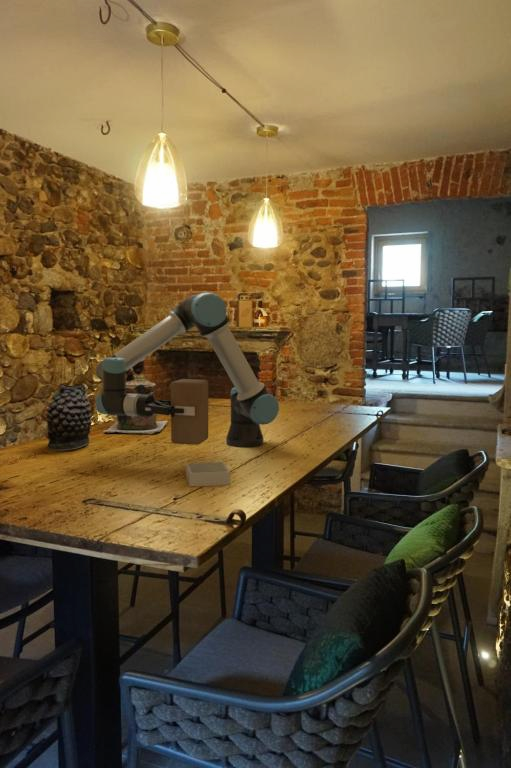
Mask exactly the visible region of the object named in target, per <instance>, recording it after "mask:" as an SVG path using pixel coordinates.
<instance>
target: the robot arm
mask: <svg viewBox="0 0 511 768" xmlns="http://www.w3.org/2000/svg"><path fill="white" fill-rule="evenodd" d="M227 310H228V309H227V305H226V302H225V301H224V299H223V298H222V297H221V296H220V295H218V294H216V293H212V292H207V291H206V292H201V293H197V294H192V295H190V296H188V297H186V298H185V299H184V300H183V301H181V302H180V303H179V304H178V305H176V306H175V307H174V308H173V309H171V310H170V311H168V315H167V316H166V317H165V318H163V319H162V320H161V321H159V322H158V323H156V324H155V325H153V326H152V327H150V328H149V329H148V330H146V331H145V332H144V333H142V334H141V335H139V336H138V337H136V338H135V339H134V340H132V341H131V342H129V343H128V344H126V345H125V346H124V347H123V348H121V349H119V350H118V351H117V352H115V353H114V354H113V355H111V356H110V357H104V358H103V359H102V361H100V362H99V363H97V365H96V368H95V373H96V376H97V378H98V380H100V381H101V382H102V386H103V387H102V388H103V390H102V392H99V394H97V396H96V400H95V408H96V410H97V412H98V413H100V414H103V415H109V416H116V415H124V416H132V418H134V417H135V416H141V417H151V416H152V415H153V414H157V415H161V416H170V418H171V417H174V413H175V415H191V416H194V415H195V407H189V406H175V408H174V406H171V399H170V400H169V399H157V400H156V397H155V398H154V397H153V396H152V395H149V394H131V393H129V394H127V393H126V378H127V375H126V371H127V370H129V369H130V368H132V367H133V366H134V365H136V364H137V363H139V362H140V361H142V360H143V359H146V358H147V357H149V356H151V354H153V353H155V351H157V350H158V349H159V348H162V346H164V345H165V344H167V343H168V342H169V341H171V340H172V339H174V338H175V337H177V336H178V335H179V334H180V333H182V334H183V333H184V334H185V333H186V332H189V330H191V329H193V328H195V327H196V329H197V331H198V332H199V334H200V336H201V337H203V338H207V340H208V341H209V343H210V345H211V347H212V349H213V351H214V352H215V354H216V355H217V357H218V360H219V361H220V363H221V365H222V366H223V368H224V371H226V373H227V376H228V377H229V379H230V381H231V383H232V384H233V386H234V387H232V388H231V390H230V425H229V429H228V432H227V434H226V439H225V444H226V445H229V446H232V447H240V448H241V447H243V448H248V447H249V448H251V447H259V446H261V445H264V435H263V433H262V429H261V425H269V424H270V423H273V421H275V419H276V418H277V416H278V415H279V411H280V405H279V404H280V403H279V401H278V400H277V398H276V396H274V395H273V394H271V393H270V392H269V391H268V388H267V386H266V384H265V383H263V382H260V381H259V380H258V379H257V377H256V375H255V373H254V371H253V370H252V368H251V365H250V364H249V362H248V361H247V359H246V356H245V354H244V353H243V351H242V349H241V347H240V346H239V344H238V342H237V340H236V338H235V337H234V335H233V333H232V331H231V330H230V328H229V325H230V322H231V321H230V318H229V317H228V314H227V312H228V311H227ZM209 407H210V404H209V401H208V411H209V409H210V408H209Z"/></svg>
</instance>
